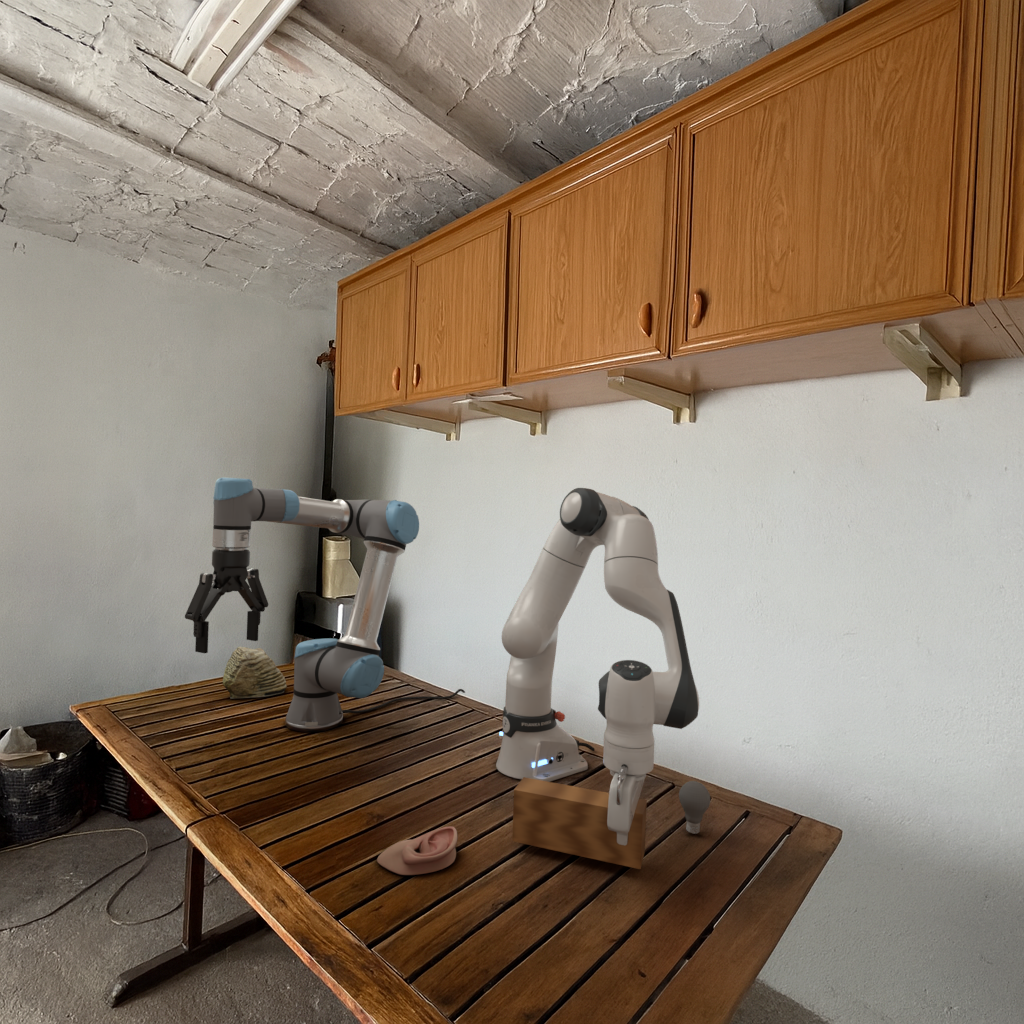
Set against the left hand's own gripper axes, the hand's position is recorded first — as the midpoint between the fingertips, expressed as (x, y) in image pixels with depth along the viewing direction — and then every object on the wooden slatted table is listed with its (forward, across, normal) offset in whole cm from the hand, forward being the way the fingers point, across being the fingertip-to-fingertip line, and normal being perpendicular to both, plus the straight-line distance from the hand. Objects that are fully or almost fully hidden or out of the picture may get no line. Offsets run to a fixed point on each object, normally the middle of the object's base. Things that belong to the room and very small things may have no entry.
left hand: (227, 646), depth 138 cm
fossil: (+30, +48, +40) cm, 69 cm away
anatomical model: (+30, -5, -53) cm, 61 cm away
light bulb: (+30, +28, -96) cm, 105 cm away
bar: (+28, +9, -78) cm, 84 cm away
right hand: (+24, +10, -87) cm, 90 cm away
